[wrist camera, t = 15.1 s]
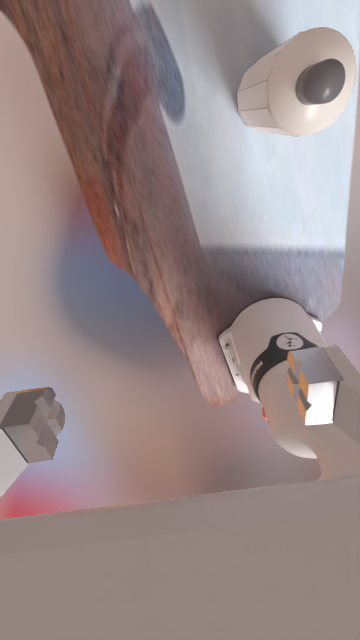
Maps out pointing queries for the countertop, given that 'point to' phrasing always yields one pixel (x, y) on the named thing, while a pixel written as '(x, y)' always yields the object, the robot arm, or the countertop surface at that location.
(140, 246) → the countertop surface
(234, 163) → the countertop surface
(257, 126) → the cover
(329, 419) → the robot arm
